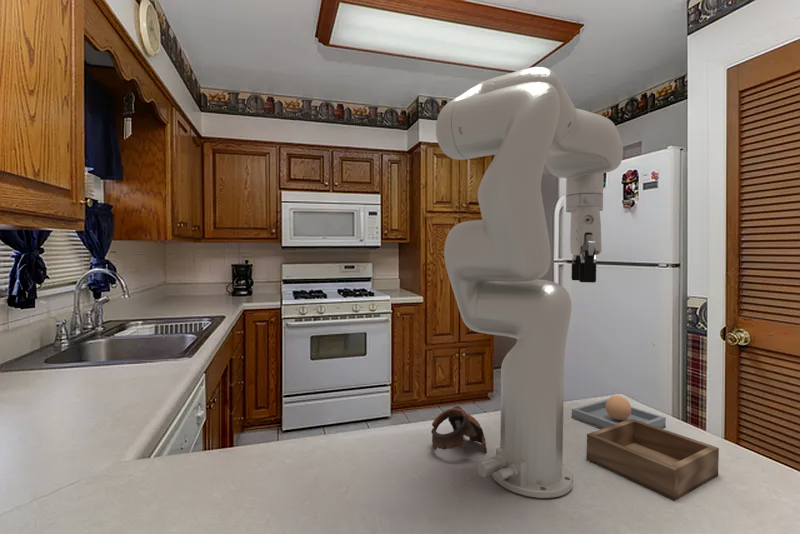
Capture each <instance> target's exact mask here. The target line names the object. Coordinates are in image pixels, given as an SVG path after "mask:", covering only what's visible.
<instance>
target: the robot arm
mask: <svg viewBox="0 0 800 534" xmlns="http://www.w3.org/2000/svg"><path fill="white" fill-rule="evenodd" d="M435 134H436V135H435V136H436V140H437V143H438V146H439V148H440V150H441V151H442V152H443V153H444V155H445V156H447V157H449V158H450V159H453V160H459V161H460V160H461V161H462V160H469V159H477V158H482V157H488V156H494V157H493V159H492V161H490V164H489V166H488V167H487V169H486V171H485V172H484V174H483V177H482V179H481V181H480V183H479V185H478V188H477V189H478V191H477V201H478V205H479V210H480V216H481V219H475V220H474V219H473V220H467V221H463V222H459V223H458V224H456V225H454V226H453V227H452V228H451V229H450V230H449V232H448V233H447V236H446V238H445V243H444V254H443V255H444V262H445V268H446V271H447V275H448V279H449V282H450V286H451V289H452V291H453V294H454V299H455V301H456V303H457V307H458V308H457V309H458V311H459V313H460V317H461V318H462V319H461V320H462V321H463V323H464V324H465V326H466V327H467V328H468V329H469V330H471V331H473V332H476V333H479V334H487V335H493V336H501V337H509V338H512V339H513V338H514V339H516V340H517V341H516V343H515V345H514V346H513V347H512V348H511V349H510V350H509V351H508V352H507V353H506V355H505V357H504V358H503V360H502V362H501V368H500V436H499V437H500V441H499V443H500V445H499V447H495V455H494V456H492V458H491V460H489V459H488V460H486V461H483V462H480V463H478V464H477V471H478V474H479V475H480V476H481V477H484V478H485V477H487V476H488V477H489V476H490V475H491V477H492V479H494V481H495V482H496V483H498V484H499V486H501V487H502V488H504V489H506V490H509V491H510V492H513V493H515V494H518V495H521V496H526V497H529V498H537V499H551V498H552V499H553V498H558V497H562V496H564V495H566V494H568V493H569V492H570V491H571V490H572V489H573V487H574V477H573V473H572V472H571V470H570V469H569V468H568V467H567V466H566V465H565V464H564V463H563V461H564V460H563V457H564V456H563V453H564V448H563V447H564V399H565V398H564V397H565V396H564V394H565V391H564V389H565V387H564V381H565V375H564V374H565V354H566V344H567V338H568V333H569V331H568V330H569V326H570V320H571V315H572V300H571V299H572V298H571V296H570V293H569V291H568V290H567V289H566V288H565V287H564V286H562V285H561V284H560V283H557V282H554V281H551V280H546V279H540V278H542V277H544V276H545V275H546V274H547V273H548V271H549V269H550V267H551V263H552V253H551V252H552V251H551V243H550V236H549V230H548V224H547V219H546V212H545V206H544V202H543V201H544V200H543V194H542V180H543V173H544V169H545V166H546V168H547V170H548V172H549V173H550V174H551V175H552V176H554V177H556V178H559V179H561V178H562V179H566V181H565V183H566V185H565V186H566V187H565V190H566V191H565V212H566V213H569V214H570V235H569V239H570V240H569V242H570V243H569V245H570V254H572V260H571V280H572V281H579V283H594V284H595V283H596V282H597V257H596V256H597V255H600V254H601V253H602V224H601V223H602V221H601V220H602V219H601V213H600V212H603V211H604V174H605V173H610V172H613V171H615V170H617V169H618V168H619V166H620V165H621V164H622V161H623V158H624V145H623V142H622V138H621V136H620V132H619V131H618V128H617V126H616V125H615V123H614V122H613V121H612V120H611V119H610V118H608V117H605V116H603V115H600V114H598V113H595V112H591V111H587V110H584V109H581V108H576V107H575V105H574V103H573V102H572V100H571V97H570V96H569V94H568V93H567V91H566V89H565V87H564V86H563V83H562V81H561V80H560V78H559V77H558V75H557V73H555V72H554V71H553V70H552V69H550V68H547V67H544V66H532V67H528V68H524V69H519V70H517V71H513V72H510V73H506V74H504V75H503V74H502V75H499V76H495V77H492V78H490V79H486V80H484V81H481V82H479V83H477V84H475V85H473V86H472V87H470V88H469V89H467V90H465V91H464V92H462V93H461V94H460V95H458V96H456V97H454V98H453V99H451V100H450V101H449V102H447V103H446V104H445V105H444V106H443V107H442V108H441V109H440V111H439V114H438V115H437V120H436V123H435Z"/></svg>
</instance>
